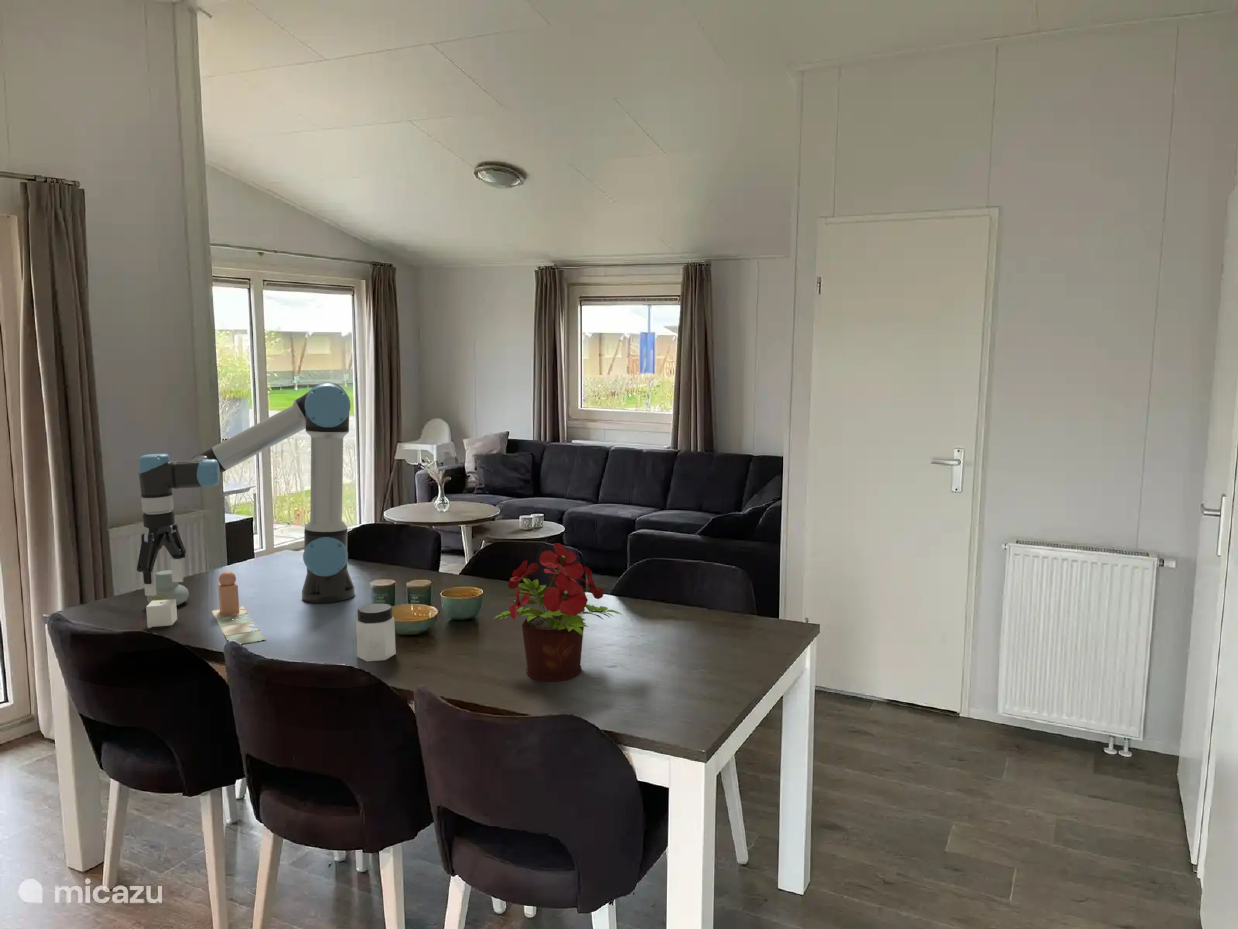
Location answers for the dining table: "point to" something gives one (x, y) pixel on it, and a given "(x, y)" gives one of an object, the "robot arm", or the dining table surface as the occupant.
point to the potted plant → (554, 615)
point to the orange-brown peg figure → (228, 593)
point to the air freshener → (168, 588)
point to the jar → (375, 632)
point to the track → (237, 627)
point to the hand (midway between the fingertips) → (164, 588)
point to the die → (161, 613)
